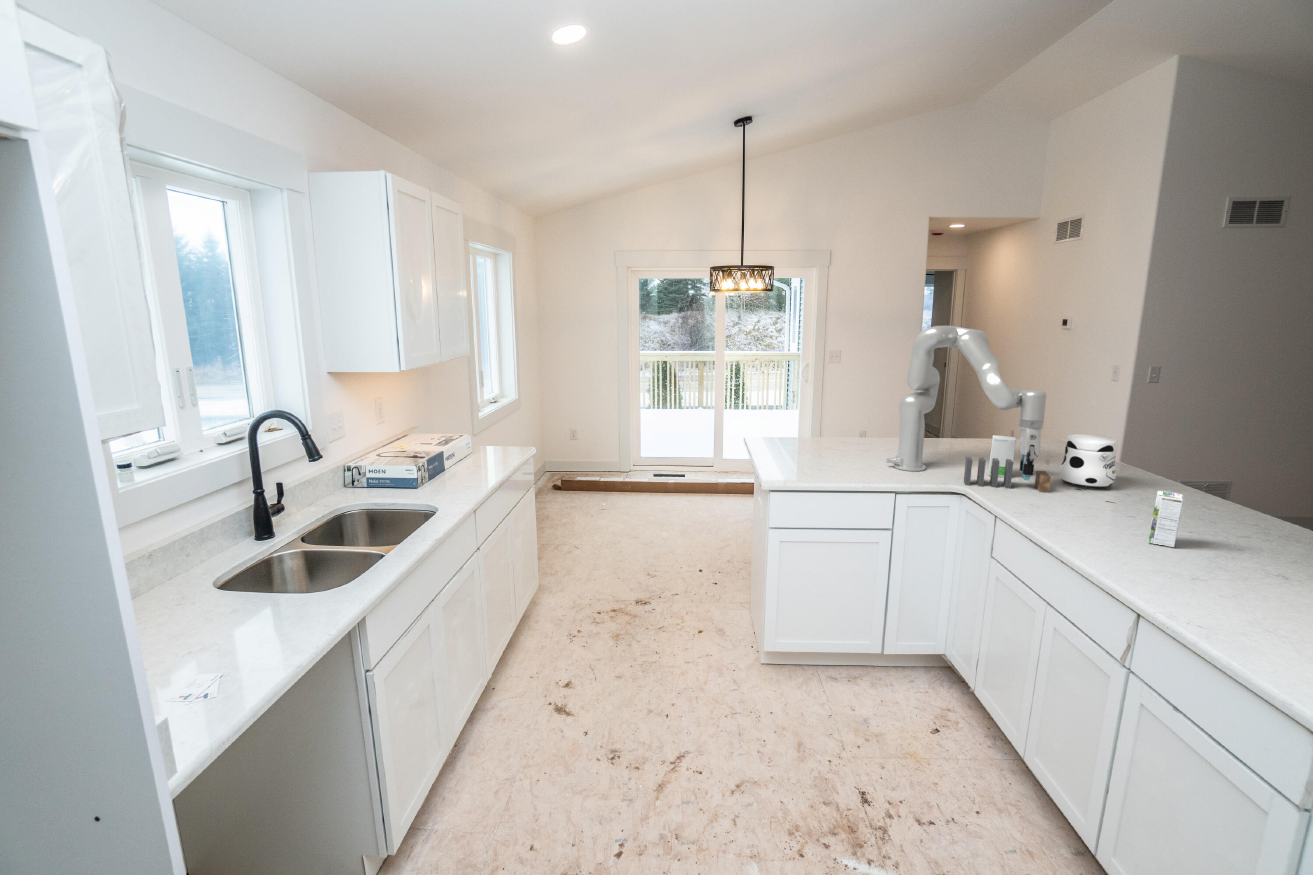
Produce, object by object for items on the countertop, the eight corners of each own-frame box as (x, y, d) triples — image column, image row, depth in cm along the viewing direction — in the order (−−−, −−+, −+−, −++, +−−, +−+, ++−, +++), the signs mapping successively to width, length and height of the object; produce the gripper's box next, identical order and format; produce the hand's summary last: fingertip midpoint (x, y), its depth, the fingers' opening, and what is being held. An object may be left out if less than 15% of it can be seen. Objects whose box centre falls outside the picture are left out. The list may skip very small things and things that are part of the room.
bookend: (1039, 491, 222) (1041, 475, 221) (1034, 485, 229) (1036, 470, 228) (1049, 492, 221) (1050, 476, 220) (1043, 486, 228) (1045, 471, 227)
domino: (1024, 480, 224) (1027, 453, 222) (1021, 476, 229) (1024, 450, 227) (1029, 480, 224) (1032, 453, 222) (1026, 477, 228) (1029, 451, 226)
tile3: (992, 487, 228) (994, 461, 226) (990, 483, 233) (992, 458, 231) (996, 487, 228) (999, 461, 226) (994, 484, 232) (997, 458, 230)
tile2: (978, 486, 230) (980, 460, 228) (976, 482, 235) (979, 457, 233) (983, 486, 229) (985, 460, 227) (981, 483, 234) (983, 457, 232)
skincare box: (988, 475, 244) (992, 437, 241) (988, 472, 250) (991, 434, 246) (1012, 478, 240) (1016, 439, 237) (1011, 474, 246) (1015, 436, 243)
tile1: (965, 485, 231) (967, 459, 229) (963, 481, 236) (966, 456, 234) (969, 485, 231) (972, 459, 229) (968, 482, 235) (970, 456, 233)
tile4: (1005, 488, 227) (1008, 462, 225) (1003, 484, 231) (1005, 459, 229) (1010, 488, 226) (1013, 462, 224) (1008, 485, 231) (1010, 459, 229)
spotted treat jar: (1124, 492, 220) (1131, 443, 216) (1070, 490, 223) (1076, 442, 220) (1100, 479, 237) (1106, 434, 233) (1050, 477, 240) (1056, 433, 236)
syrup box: (1148, 538, 176) (1156, 489, 173) (1175, 542, 173) (1183, 493, 170) (1148, 544, 172) (1156, 494, 169) (1175, 548, 168) (1184, 498, 165)
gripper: (1048, 428, 213) (1043, 479, 217) (1037, 420, 229) (1032, 468, 232) (1024, 427, 216) (1019, 477, 219) (1014, 420, 231) (1010, 466, 235)
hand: (1026, 472), depth 226 cm, fingers closed on domino, 4 cm apart
